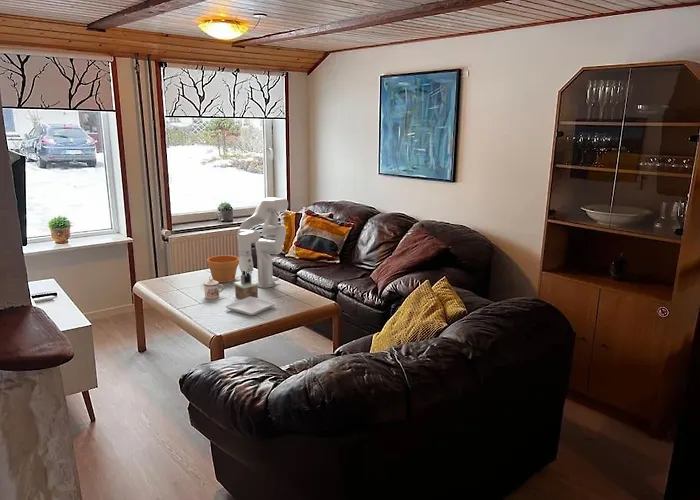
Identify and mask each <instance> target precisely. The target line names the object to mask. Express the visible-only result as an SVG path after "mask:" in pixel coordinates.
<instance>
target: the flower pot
mask: <svg viewBox="0 0 700 500" xmlns="http://www.w3.org/2000/svg"><path fill="white" fill-rule="evenodd" d="M206 263H207V266H208V268H209V270H210V273H211V274H210V275H211V279H213V280H215V281H218V282H219V283H229V282H233V281H235V278H236V274H237V271H238V270H237V269H238V267H239V256H236V255H227V254H226V255H225V254H224V255H215V256H210V257H208V258H207V259H206Z"/></svg>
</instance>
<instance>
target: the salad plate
mask: <svg viewBox="0 0 700 500" xmlns="http://www.w3.org/2000/svg"><path fill="white" fill-rule="evenodd" d="M276 304H277V303H276V302H273V301H271V300H268V299H267V300H266V299H263V298H259V297H258V298H255V297H251V296H250V297H247V298H244V299H242V300H241V299H239V300H236V301H234V302H232V303H229V304H227V305H225V308H226V309H228V310H230V311H233V312H237V313H241V314H244V315H248V316H255V315H257V314H259V313H262V312H264V311H266V310H269V309H271V308H272V307H274V306H276Z"/></svg>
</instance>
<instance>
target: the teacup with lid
mask: <svg viewBox="0 0 700 500" xmlns="http://www.w3.org/2000/svg"><path fill="white" fill-rule="evenodd" d="M203 287H204V298H205V299H208V300H213V299H214V300H215V299H218V298H220V293H222V292H223V291H224V285H223V284H222V283H221V284H220V282H218V281H215V280H213V278H209V280H206V281H205V282H203ZM219 287H221V290H220V288H219Z"/></svg>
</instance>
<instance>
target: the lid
mask: <svg viewBox="0 0 700 500" xmlns="http://www.w3.org/2000/svg"><path fill="white" fill-rule="evenodd" d="M257 282H258V281H255V280H253V279H252V274H250V282H248V283H245V275H242V274H241V275H240V280H239V281H234V282H233V285H234V286H235V285H236V286H239V287H241V288H248V287H253V286H257V285H259V283H257Z"/></svg>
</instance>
